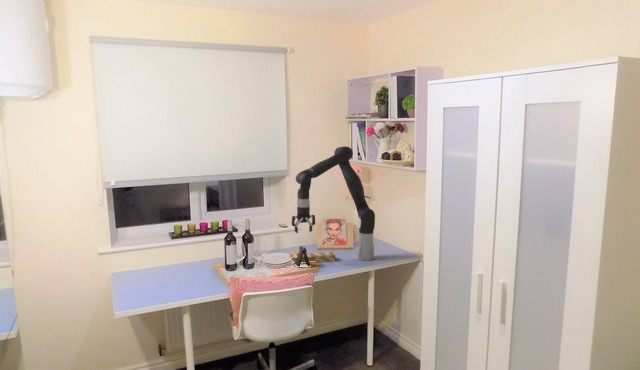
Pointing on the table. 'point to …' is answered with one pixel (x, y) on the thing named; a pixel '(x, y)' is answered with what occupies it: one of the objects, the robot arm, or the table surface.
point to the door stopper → (299, 257)
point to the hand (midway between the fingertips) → (303, 232)
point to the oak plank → (316, 257)
